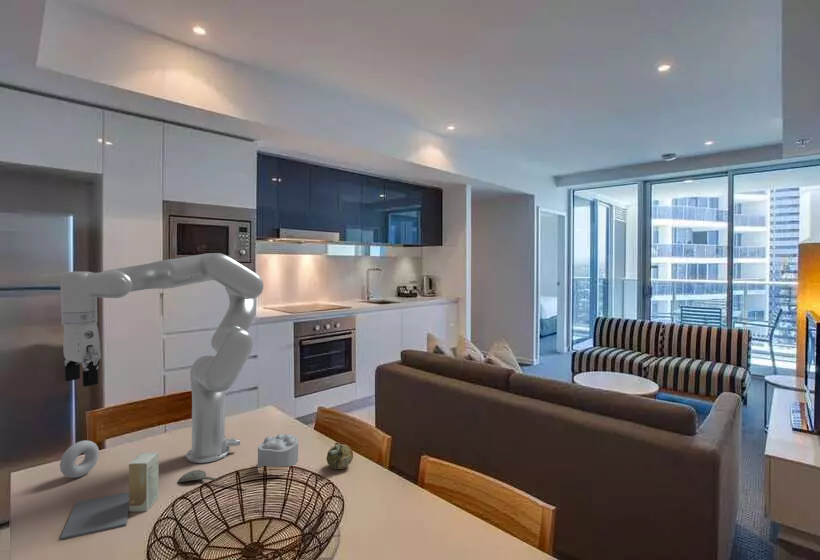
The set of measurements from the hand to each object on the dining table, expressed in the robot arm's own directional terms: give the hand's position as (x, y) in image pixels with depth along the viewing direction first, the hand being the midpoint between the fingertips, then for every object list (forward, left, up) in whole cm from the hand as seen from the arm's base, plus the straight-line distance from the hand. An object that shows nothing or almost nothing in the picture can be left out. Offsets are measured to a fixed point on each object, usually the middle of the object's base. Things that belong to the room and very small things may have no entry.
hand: (81, 382), depth 115 cm
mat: (-6, +16, -29) cm, 34 cm away
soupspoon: (-31, +11, -30) cm, 45 cm away
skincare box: (-15, +16, -29) cm, 37 cm away
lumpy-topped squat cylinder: (-50, +8, -29) cm, 59 cm away
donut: (+2, -9, -29) cm, 31 cm away
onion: (-66, +17, -29) cm, 74 cm away
